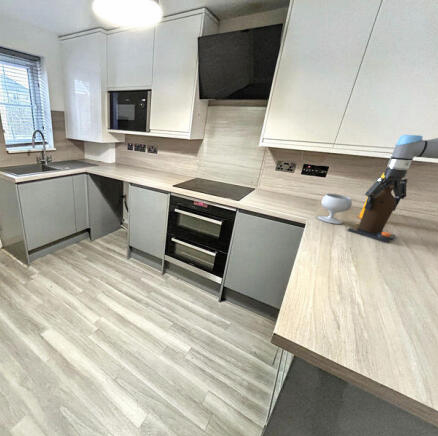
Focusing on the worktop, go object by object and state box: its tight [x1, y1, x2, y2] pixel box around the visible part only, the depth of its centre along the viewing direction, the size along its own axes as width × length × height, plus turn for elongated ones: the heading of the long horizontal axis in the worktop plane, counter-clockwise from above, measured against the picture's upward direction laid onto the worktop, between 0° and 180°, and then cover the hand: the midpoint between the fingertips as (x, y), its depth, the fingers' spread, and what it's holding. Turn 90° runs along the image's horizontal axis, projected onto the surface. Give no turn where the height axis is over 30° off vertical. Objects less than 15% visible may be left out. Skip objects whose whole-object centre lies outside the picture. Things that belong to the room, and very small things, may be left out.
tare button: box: [382, 231, 392, 237], centre depth 117 cm, size 3×3×2 cm
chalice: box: [317, 193, 353, 225], centre depth 139 cm, size 14×14×15 cm
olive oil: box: [358, 185, 396, 233], centre depth 122 cm, size 11×11×25 cm
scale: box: [347, 223, 396, 244], centre depth 124 cm, size 17×14×3 cm
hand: (379, 209), depth 122 cm, fingers open, 13 cm apart
